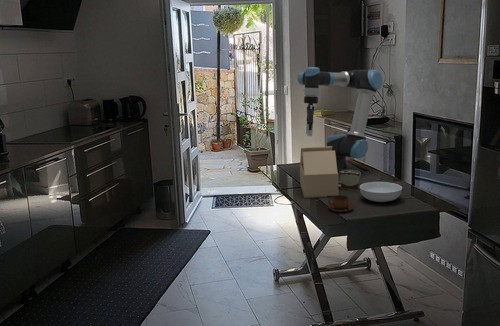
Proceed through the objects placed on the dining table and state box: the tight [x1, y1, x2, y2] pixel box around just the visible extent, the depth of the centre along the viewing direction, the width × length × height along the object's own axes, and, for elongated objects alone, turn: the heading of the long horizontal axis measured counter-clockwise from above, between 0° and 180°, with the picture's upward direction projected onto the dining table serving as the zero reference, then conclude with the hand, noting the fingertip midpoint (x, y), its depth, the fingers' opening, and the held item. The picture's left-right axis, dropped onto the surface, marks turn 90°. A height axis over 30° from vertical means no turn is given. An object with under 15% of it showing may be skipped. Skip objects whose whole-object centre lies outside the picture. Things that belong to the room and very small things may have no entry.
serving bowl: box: [359, 181, 403, 203], centre depth 243 cm, size 21×21×7 cm
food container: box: [338, 169, 362, 191], centre depth 264 cm, size 12×6×10 cm, turn 65°
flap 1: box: [299, 146, 332, 164], centre depth 272 cm, size 17×14×1 cm
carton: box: [299, 162, 339, 199], centre depth 265 cm, size 18×28×12 cm, turn 178°
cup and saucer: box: [327, 194, 355, 213], centre depth 231 cm, size 12×12×6 cm
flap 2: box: [303, 151, 339, 176], centre depth 253 cm, size 17×14×1 cm
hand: (309, 135), depth 264 cm, fingers open, 13 cm apart
